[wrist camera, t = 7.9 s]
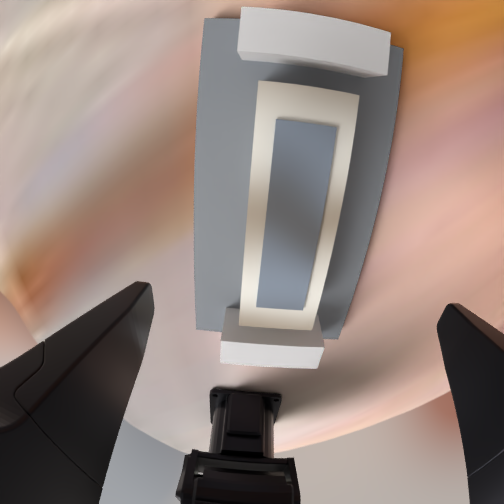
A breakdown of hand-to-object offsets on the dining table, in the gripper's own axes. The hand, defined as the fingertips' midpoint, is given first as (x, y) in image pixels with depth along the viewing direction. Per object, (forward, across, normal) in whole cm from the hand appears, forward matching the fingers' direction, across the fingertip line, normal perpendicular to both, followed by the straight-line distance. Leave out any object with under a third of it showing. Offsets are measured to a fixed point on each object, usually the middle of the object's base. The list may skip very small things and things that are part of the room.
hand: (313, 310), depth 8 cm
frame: (+9, 0, 0) cm, 9 cm away
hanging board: (+10, 0, 0) cm, 10 cm away
